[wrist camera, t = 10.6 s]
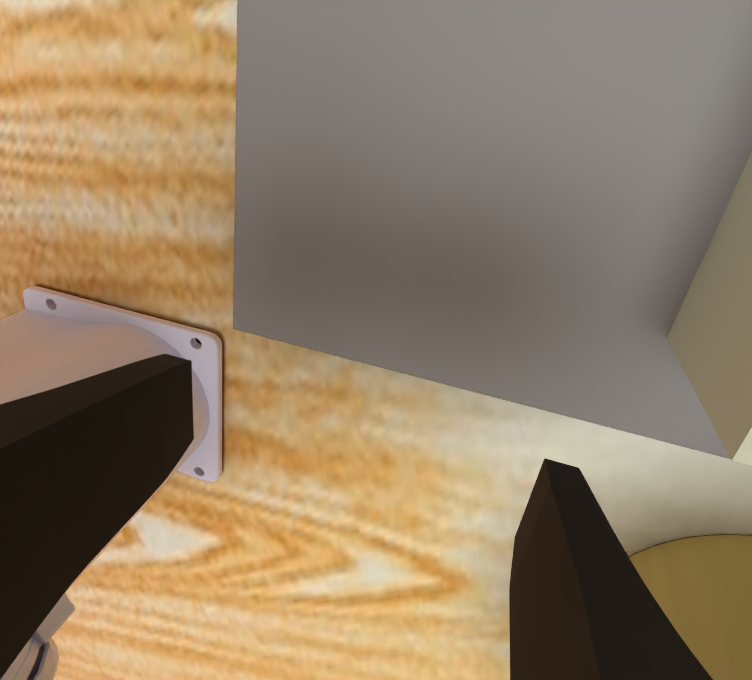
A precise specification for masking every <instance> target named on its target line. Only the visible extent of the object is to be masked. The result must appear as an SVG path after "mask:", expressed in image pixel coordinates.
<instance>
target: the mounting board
mask: <svg viewBox="0 0 752 680" xmlns="http://www.w3.org/2000/svg"><path fill="white" fill-rule="evenodd" d="M751 152H752V0H238V5H237V81H236V157H235V232H234V308H233V329H236V330H239V331H243V332H247V333H251V334H255V335H259V336H262V337H266V338H270V339H274V340H278V341H282V342H285V343H289V344H293V345H297V346H301V347H304V348H308V349H312V350H316V351H320V352H324V353H327V354H331V355H335V356H339V357H343V358H347V359H350V360H354V361H358V362H362V363H366V364H369V365H373V366H377V367H381V368H385V369H389V370H392V371H396V372H400V373H404V374H408V375H412V376H415V377H419V378H423V379H427V380H431V381H434V382H438V383H442V384H446V385H450V386H454V387H457V388H461V389H465V390H469V391H473V392H476V393H480V394H484V395H488V396H492V397H496V398H499V399H503V400H507V401H511V402H515V403H519V404H522V405H526V406H530V407H534V408H538V409H541V410H545V411H549V412H553V413H557V414H561V415H564V416H568V417H572V418H576V419H580V420H584V421H587V422H591V423H595V424H599V425H603V426H606V427H610V428H614V429H618V430H622V431H626V432H629V433H633V434H637V435H641V436H645V437H649V438H652V439H656V440H660V441H664V442H668V443H671V444H675V445H679V446H683V447H687V448H691V449H694V450H698V451H702V452H706V453H710V454H714V455H717V456H721V457H725V458H729V459H730V457H729V455H728V453H727V451H726V449H725V447H724V445H723V444H722V442H721V440H720V438H719V436H718V434H717V432H716V430H715V428H714V427H713V425H712V423H711V421H710V419H709V417H708V415H707V413H706V411H705V410H704V408H703V406H702V404H701V402H700V400H699V398H698V396H697V394H696V392H695V391H694V389H693V387H692V385H691V383H690V381H689V379H688V377H687V375H686V374H685V372H684V370H683V368H682V366H681V364H680V362H679V360H678V358H677V356H676V355H675V353H674V351H673V349H672V347H671V345H670V343H669V341H668V339H667V336H668V334H669V332H670V330H671V328H672V325H673V323H674V321H675V319H676V317H677V314H678V312H679V310H680V308H681V306H682V303H683V301H684V299H685V297H686V295H687V293H688V290H689V288H690V286H691V284H692V282H693V279H694V277H695V275H696V273H697V271H698V268H699V266H700V264H701V262H702V260H703V257H704V255H705V253H706V251H707V249H708V246H709V244H710V242H711V240H712V238H713V235H714V233H715V231H716V229H717V227H718V224H719V222H720V220H721V218H722V216H723V214H724V211H725V209H726V207H727V205H728V203H729V200H730V198H731V196H732V194H733V192H734V189H735V187H736V185H737V183H738V181H739V178H740V176H741V174H742V172H743V170H744V167H745V165H746V163H747V161H748V159H749V156H750V154H751Z"/></svg>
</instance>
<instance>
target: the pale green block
mask: <svg viewBox="0 0 752 680" xmlns="http://www.w3.org/2000/svg"><path fill="white" fill-rule="evenodd" d="M667 339H668V341H669V343H670V345H671V347H672V349H673V351H674V353H675V355H676V356H677V358H678V360H679V362H680V364H681V366H682V368H683V370H684V372H685V374H686V375H687V377H688V379H689V381H690V383H691V385H692V387H693V389H694V391H695V392H696V394H697V396H698V398H699V400H700V402H701V404H702V406H703V408H704V410H705V411H706V413H707V415H708V417H709V419H710V421H711V423H712V425H713V427H714V428H715V430H716V432H717V434H718V436H719V438H720V440H721V442H722V444H723V445H724V447H725V449H726V451H727V453H728V455H729V457H730V459H731V461H734V462H738V463H742V464H746V465H749V466H752V152H751V154H750V156H749V159H748V161H747V163H746V165H745V167H744V170H743V172H742V174H741V176H740V178H739V181H738V183H737V185H736V187H735V189H734V192H733V194H732V196H731V198H730V200H729V203H728V205H727V207H726V209H725V211H724V214H723V216H722V218H721V220H720V222H719V224H718V227H717V229H716V231H715V233H714V235H713V238H712V240H711V242H710V244H709V246H708V249H707V251H706V253H705V255H704V257H703V260H702V262H701V264H700V266H699V268H698V271H697V273H696V275H695V277H694V279H693V282H692V284H691V286H690V288H689V290H688V293H687V295H686V297H685V299H684V301H683V303H682V306H681V308H680V310H679V312H678V314H677V317H676V319H675V321H674V323H673V325H672V328H671V330H670V332H669V334H668V336H667Z"/></svg>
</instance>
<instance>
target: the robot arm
mask: <svg viewBox="0 0 752 680" xmlns="http://www.w3.org/2000/svg"><path fill="white" fill-rule="evenodd" d="M23 299H24V304H25V309H24V310H21V311H19V312H17V313H15V314H12V315H10V316H8V317H6V318H3V319H1V320H0V680H53V679H54V676H55V673H56V670H57V665H58V659H59V655H58V648H57V646H56V644H55V642H54V641H53V639H52V638H51V637H52V636H53V635H54V634H55V632H56V631H57V630H58V629H59V628H60V627H61V625H62V624H63V623H64V622H65V621H66V620H67V619H68V617H69V616H70V615H71V614H72V613H73V612H74V610H75V607H74V605H73V604H72V603H71V601H70V600H69V598H68V597H67V595H66V593H65V592H66V591H67V589H68V588H69V587H70V586H71V585H72V584H73V583H74V582H75V581H76V580H77V579H78V577H79V576H80V575H81V574H82V573H83V572H84V571H85V570H86V569H87V568H88V567H89V566H90V564H91V563H92V562H93V561H94V560H95V559H96V558H97V557H98V556H99V555H100V554H101V552H102V551H103V550H104V549H105V548H106V547H107V546H108V545H109V544H110V543H111V542H112V540H113V539H114V538H115V537H116V536H117V535H118V534H119V533H120V532H121V531H122V530H123V529H124V527H125V526H126V525H127V524H128V523H129V522H130V521H131V520H132V519H133V518H134V517H135V515H136V514H137V513H138V512H139V511H140V510H141V509H142V508H143V507H144V506H145V505H146V503H147V502H148V501H149V500H150V499H151V498H152V497H153V496H154V495H155V494H156V493H157V492H158V490H159V489H160V488H161V487H162V486H163V485H164V484H165V483H166V482H167V481H168V480H169V478H170V477H171V476H172V475H173V474H174V473H175V472H180V473H183V474H186V475H189V476H192V477H195V478H198V479H202V480H205V481H208V482H216V481H217V480H218V479H219V478H220V477H221V475H222V342H221V340H220V338H219V337H218V336H217V335H216V334H214V333H212V332H208V331H205V330H201V329H197V328H193V327H189V326H186V325H182V324H178V323H174V322H171V321H167V320H163V319H159V318H155V317H152V316H148V315H144V314H140V313H137V312H133V311H129V310H125V309H122V308H118V307H114V306H110V305H106V304H103V303H99V302H95V301H91V300H88V299H84V298H80V297H76V296H72V295H69V294H65V293H61V292H57V291H54V290H50V289H46V288H42V287H38V286H31V287H29V288H26V289H25V290H24V291H23ZM54 302H55V303H56V304H55V303H54ZM196 338H197V339H199V340H200V342H201V344H202V345H200V344H198V342H197V341H196ZM510 679H511V680H713V679H712V678H711V676H710V675H709V674H708V672H707V671H706V670H705V669H704V667H703V666H702V665H701V663H700V662H699V661H698V659H697V658H696V657H695V655H694V654H693V653H692V652H691V650H690V649H689V647H688V646H687V645H686V643H685V642H684V641H683V639H682V638H681V636H680V635H679V634H678V632H677V631H676V629H675V628H674V627H673V625H672V624H671V622H670V621H669V619H668V618H667V616H666V615H665V613H664V612H663V610H662V609H661V607H660V606H659V604H658V603H657V601H656V600H655V598H654V597H653V595H652V594H651V592H650V591H649V589H648V588H647V586H646V584H645V583H644V581H643V580H642V578H641V577H640V575H639V573H638V572H637V570H636V568H635V567H634V565H633V563H632V562H631V560H630V558H629V557H628V555H627V553H626V552H625V550H624V548H623V547H622V545H621V543H620V542H619V540H618V538H617V536H616V535H615V533H614V531H613V529H612V527H611V526H610V524H609V522H608V520H607V518H606V517H605V515H604V513H603V511H602V509H601V508H600V506H599V504H598V502H597V500H596V498H595V497H594V495H593V493H592V491H591V489H590V487H589V485H588V483H587V482H586V480H585V478H584V476H583V474H582V473H581V471H580V469H579V468H577V467H574V466H570V465H566V464H563V463H559V462H555V461H552V460H548V459H544V461H543V464H542V467H541V469H540V472H539V475H538V477H537V480H536V483H535V485H534V488H533V491H532V493H531V496H530V499H529V501H528V504H527V507H526V509H525V512H524V514H523V517H522V520H521V522H520V525H519V528H518V530H517V533H516V536H515V542H514V550H513V559H512V569H511V579H510Z"/></svg>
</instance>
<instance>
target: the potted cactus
mask: <svg viewBox="0 0 752 680" xmlns="http://www.w3.org/2000/svg"><path fill="white" fill-rule="evenodd" d="M629 558H630V560H631V562H632V563H633V565H634V567H635V568H636V570H637V572H638V573H639V575H640V577H641V578H642V580H643V581H644V583H645V584H646V586H647V588H648V589H649V591H650V592H651V594H652V595H653V597H654V598H655V600H656V601H657V603H658V604H659V606H660V607H661V609H662V610H663V612H664V613H665V615H666V616H667V618H668V619H669V621H670V622H671V624H672V625H673V627H674V628H675V629H676V631H677V632H678V634H679V635H680V636H681V638H682V639H683V641H684V642H685V643H686V645H687V646H688V647H689V649H690V650H691V652H692V653H693V654H694V655H695V657H696V658H697V659H698V661H699V662H700V663H701V665H702V666H703V667H704V669H705V670H706V671H707V672H708V674H709V675H710V676H711V678H712V679H713V680H752V536H746V535H710V536H699V537H691V538H685V539H680V540H676V541H671V542H667V543H663V544H660V545H657V546H654V547H651V548H649V549H646V550H644V551H641V552H639V553H637V554H635V555H633V556H631V557H629Z"/></svg>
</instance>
